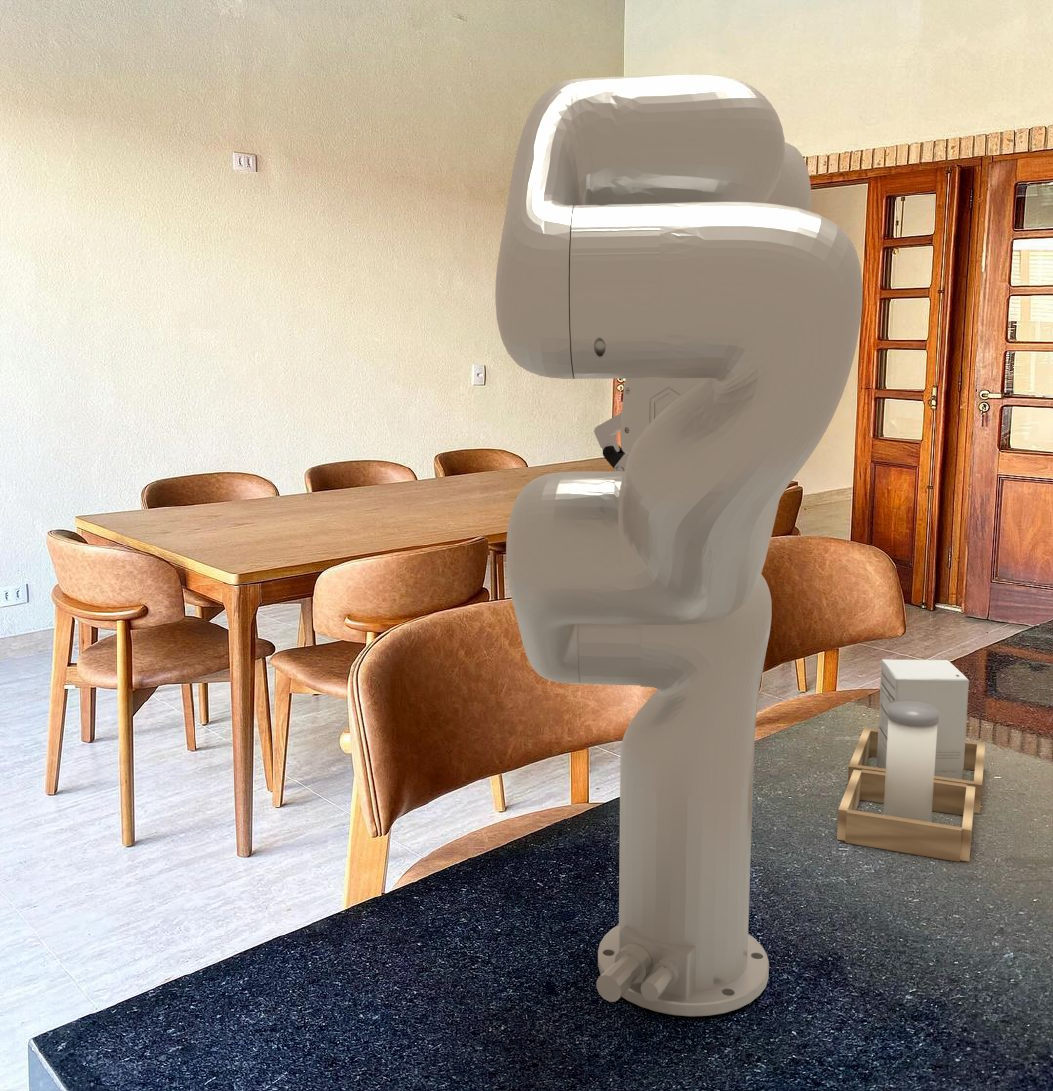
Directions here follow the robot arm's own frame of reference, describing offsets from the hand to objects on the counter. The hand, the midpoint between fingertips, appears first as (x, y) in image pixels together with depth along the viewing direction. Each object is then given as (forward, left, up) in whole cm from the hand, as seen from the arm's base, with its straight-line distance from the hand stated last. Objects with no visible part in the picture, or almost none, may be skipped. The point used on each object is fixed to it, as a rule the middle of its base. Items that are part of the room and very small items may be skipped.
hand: (680, 522), depth 98 cm
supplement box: (+26, -16, -31) cm, 43 cm away
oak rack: (+20, -17, -30) cm, 40 cm away
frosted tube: (+14, -18, -30) cm, 38 cm away
